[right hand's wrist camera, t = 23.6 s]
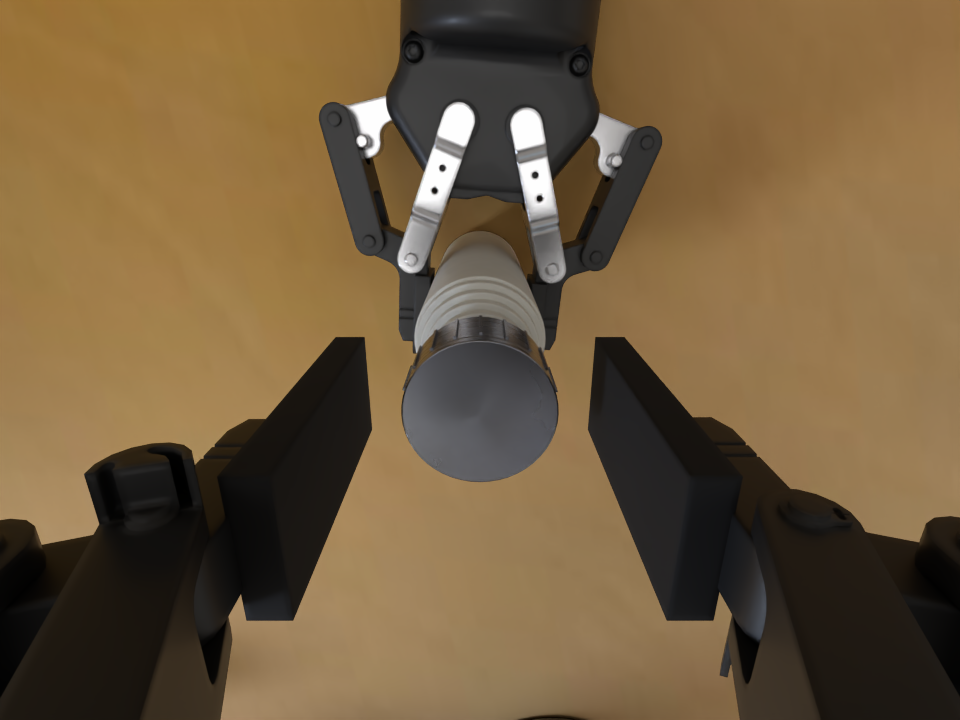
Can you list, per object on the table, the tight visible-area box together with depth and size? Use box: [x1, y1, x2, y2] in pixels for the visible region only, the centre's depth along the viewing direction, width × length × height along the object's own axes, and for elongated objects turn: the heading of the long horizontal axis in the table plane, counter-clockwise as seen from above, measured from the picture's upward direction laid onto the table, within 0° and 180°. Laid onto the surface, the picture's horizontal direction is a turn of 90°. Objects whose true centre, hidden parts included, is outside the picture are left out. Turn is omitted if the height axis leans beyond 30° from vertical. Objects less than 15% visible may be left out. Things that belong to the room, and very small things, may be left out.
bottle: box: [414, 231, 546, 353], centre depth 21 cm, size 4×4×18 cm
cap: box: [401, 315, 558, 482], centre depth 13 cm, size 4×4×2 cm
